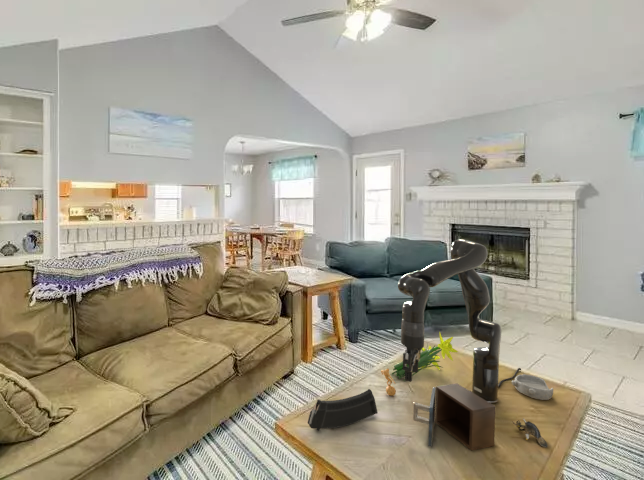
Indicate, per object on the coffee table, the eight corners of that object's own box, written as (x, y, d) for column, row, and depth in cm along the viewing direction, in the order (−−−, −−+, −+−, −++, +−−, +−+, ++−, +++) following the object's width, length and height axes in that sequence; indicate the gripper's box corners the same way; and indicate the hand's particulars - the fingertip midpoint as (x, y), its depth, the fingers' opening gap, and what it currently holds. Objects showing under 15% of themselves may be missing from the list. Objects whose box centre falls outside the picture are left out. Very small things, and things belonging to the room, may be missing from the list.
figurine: (401, 399, 158) (402, 371, 158) (389, 401, 156) (390, 373, 156) (388, 389, 166) (388, 363, 166) (376, 391, 164) (377, 364, 164)
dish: (535, 384, 172) (535, 373, 172) (562, 401, 159) (563, 389, 158) (504, 384, 172) (505, 373, 172) (529, 401, 158) (530, 389, 158)
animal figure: (510, 433, 135) (539, 443, 127) (512, 412, 138) (541, 421, 130) (521, 440, 138) (550, 450, 130) (523, 419, 140) (552, 429, 133)
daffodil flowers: (380, 369, 187) (432, 342, 198) (402, 396, 176) (455, 366, 187) (388, 350, 177) (442, 323, 188) (412, 378, 166) (467, 347, 177)
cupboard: (471, 450, 127) (472, 410, 127) (434, 422, 143) (435, 386, 142) (494, 445, 130) (495, 406, 130) (455, 418, 146) (457, 383, 145)
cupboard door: (411, 440, 132) (412, 402, 132) (416, 417, 146) (417, 382, 145) (431, 446, 129) (432, 407, 128) (434, 422, 142) (435, 387, 142)
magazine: (377, 388, 149) (317, 380, 138) (383, 392, 146) (323, 384, 135) (366, 431, 148) (305, 427, 137) (372, 436, 145) (310, 432, 134)
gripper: (418, 341, 127) (417, 387, 127) (428, 328, 138) (427, 372, 138) (395, 335, 132) (394, 380, 132) (407, 324, 142) (406, 365, 143)
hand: (411, 376), depth 135 cm, fingers open, 8 cm apart
